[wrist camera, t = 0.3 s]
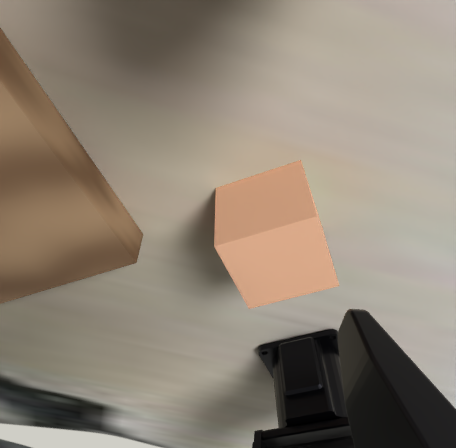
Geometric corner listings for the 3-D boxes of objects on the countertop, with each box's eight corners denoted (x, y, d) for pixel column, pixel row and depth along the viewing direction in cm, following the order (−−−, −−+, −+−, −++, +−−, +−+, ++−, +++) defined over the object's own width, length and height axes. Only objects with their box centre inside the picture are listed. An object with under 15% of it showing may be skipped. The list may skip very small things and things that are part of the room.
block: (321, 225, 25) (339, 286, 21) (245, 247, 26) (249, 308, 22) (300, 159, 22) (316, 215, 18) (215, 187, 23) (214, 246, 19)
